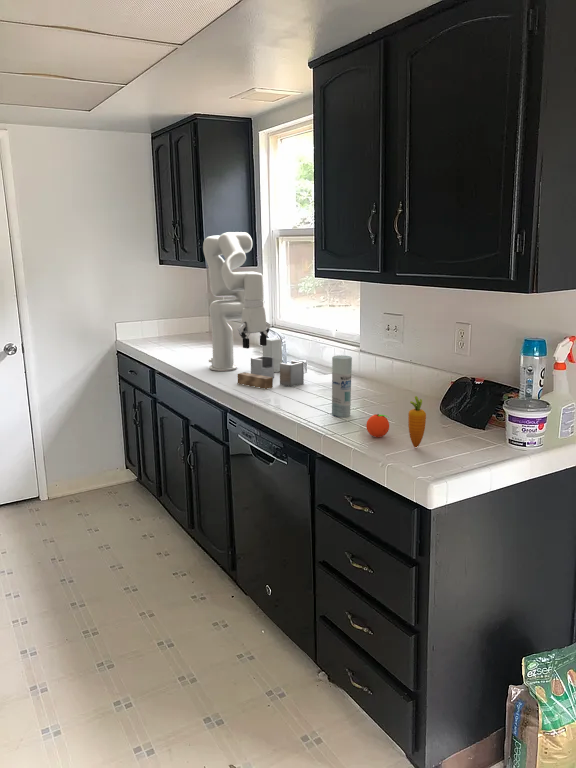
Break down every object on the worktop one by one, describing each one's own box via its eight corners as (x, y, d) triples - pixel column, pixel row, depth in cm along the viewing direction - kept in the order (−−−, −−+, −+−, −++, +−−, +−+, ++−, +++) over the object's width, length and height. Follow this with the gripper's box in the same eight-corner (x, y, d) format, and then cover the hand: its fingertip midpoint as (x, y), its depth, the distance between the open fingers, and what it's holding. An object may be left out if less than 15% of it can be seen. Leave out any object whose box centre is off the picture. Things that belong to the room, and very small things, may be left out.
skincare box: (283, 371, 293) (282, 339, 290) (271, 373, 290) (271, 340, 286) (273, 368, 300) (273, 336, 296) (262, 370, 296) (261, 337, 293)
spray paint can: (340, 411, 225) (341, 354, 221) (354, 414, 220) (355, 357, 216) (327, 414, 221) (328, 357, 216) (341, 418, 216) (342, 359, 212)
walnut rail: (237, 384, 268) (237, 373, 267) (244, 382, 271) (244, 372, 270) (265, 390, 258) (265, 379, 257) (272, 388, 261) (272, 377, 260)
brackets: (251, 378, 277) (250, 358, 275) (264, 376, 283) (263, 355, 281) (290, 386, 262) (290, 365, 260) (303, 383, 268) (303, 362, 266)
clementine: (390, 433, 199) (390, 411, 198) (394, 440, 193) (395, 417, 191) (364, 433, 199) (364, 411, 198) (367, 440, 192) (368, 417, 191)
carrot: (422, 451, 182) (425, 400, 179) (405, 449, 184) (407, 398, 181) (425, 446, 187) (428, 396, 183) (408, 444, 188) (410, 394, 185)
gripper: (262, 302, 266) (263, 343, 270) (231, 305, 254) (232, 348, 257) (275, 303, 261) (276, 345, 265) (244, 306, 249) (245, 350, 252)
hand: (254, 346), depth 261 cm, fingers open, 9 cm apart
